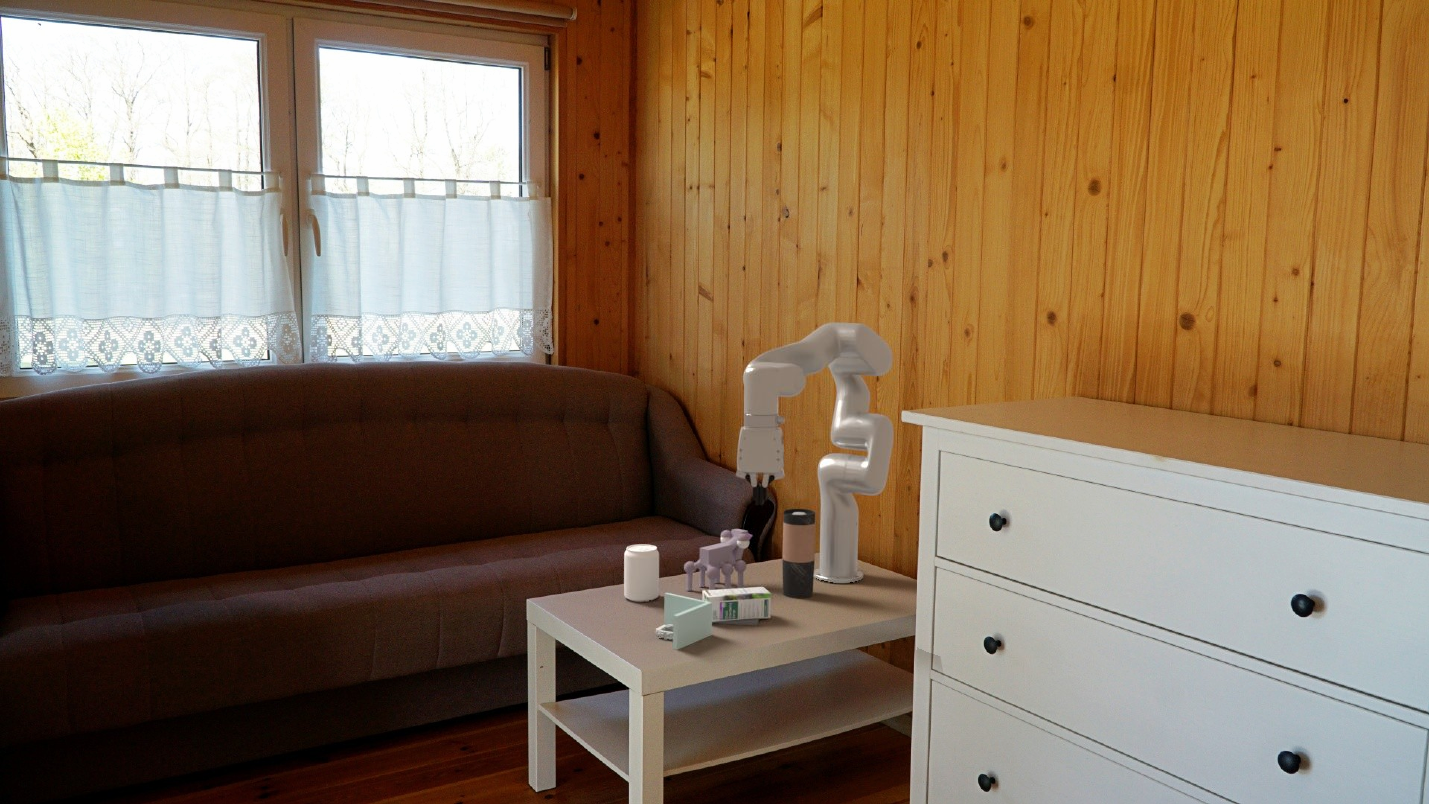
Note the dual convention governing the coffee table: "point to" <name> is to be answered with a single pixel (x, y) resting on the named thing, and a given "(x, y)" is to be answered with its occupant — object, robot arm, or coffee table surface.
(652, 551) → the beverage can
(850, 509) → the robot arm
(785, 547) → the travel mug
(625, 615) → the coffee table surface
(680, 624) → the right angle wall
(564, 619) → the coffee table surface
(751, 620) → the mat
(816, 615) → the coffee table surface
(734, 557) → the lavender lumpy figurine
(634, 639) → the coffee table surface
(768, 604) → the syrup box
